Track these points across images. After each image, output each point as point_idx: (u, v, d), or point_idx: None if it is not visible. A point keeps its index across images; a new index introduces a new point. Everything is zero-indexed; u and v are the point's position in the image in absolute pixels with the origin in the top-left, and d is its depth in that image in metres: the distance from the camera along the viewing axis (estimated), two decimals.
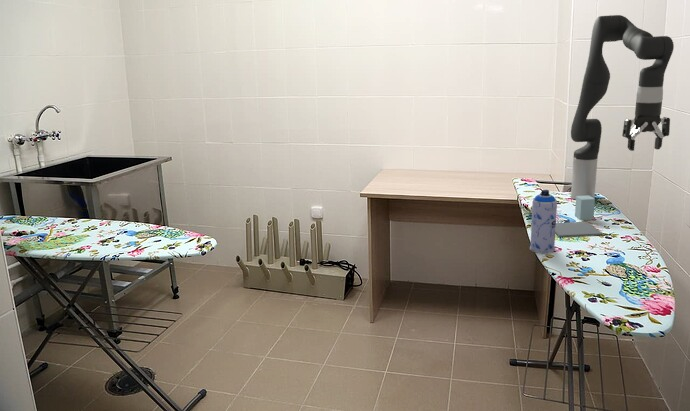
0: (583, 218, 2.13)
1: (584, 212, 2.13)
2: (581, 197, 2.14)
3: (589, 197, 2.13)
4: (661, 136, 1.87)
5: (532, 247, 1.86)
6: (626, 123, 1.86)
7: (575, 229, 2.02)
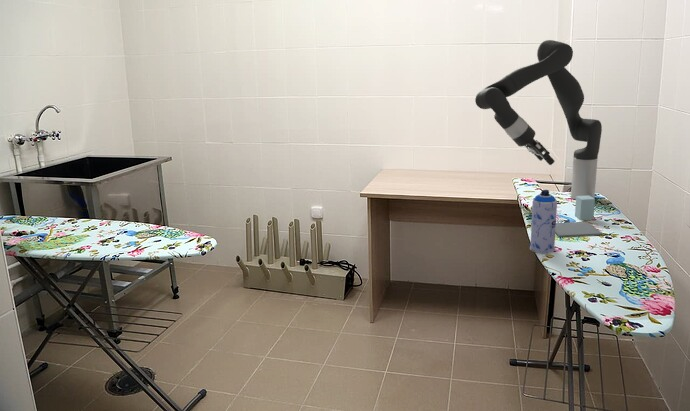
0: (583, 218, 2.13)
1: (584, 212, 2.13)
2: (581, 197, 2.14)
3: (589, 197, 2.13)
4: (542, 157, 2.03)
5: (532, 247, 1.86)
6: None
7: (575, 229, 2.02)
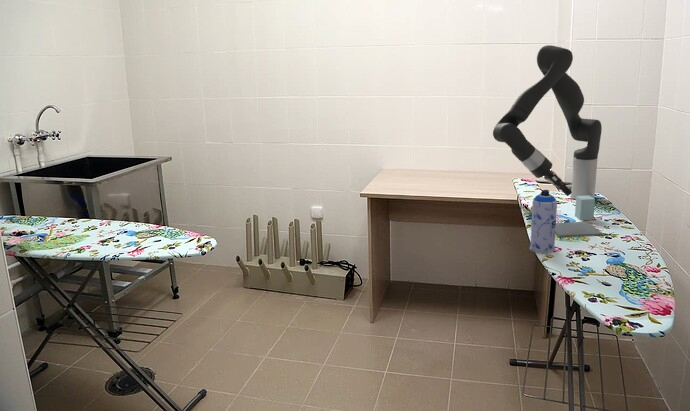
0: (583, 218, 2.13)
1: (584, 212, 2.13)
2: (581, 197, 2.14)
3: (589, 197, 2.13)
4: (559, 188, 2.08)
5: (532, 247, 1.86)
6: None
7: (575, 229, 2.02)
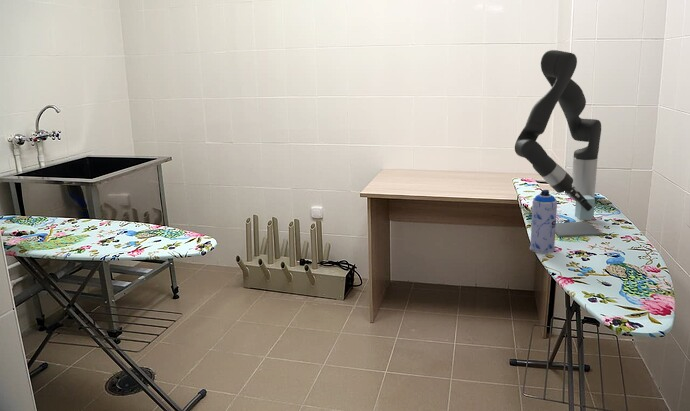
0: (583, 218, 2.13)
1: (584, 212, 2.13)
2: None
3: (589, 197, 2.13)
4: (580, 204, 2.11)
5: (532, 247, 1.86)
6: None
7: (575, 229, 2.02)
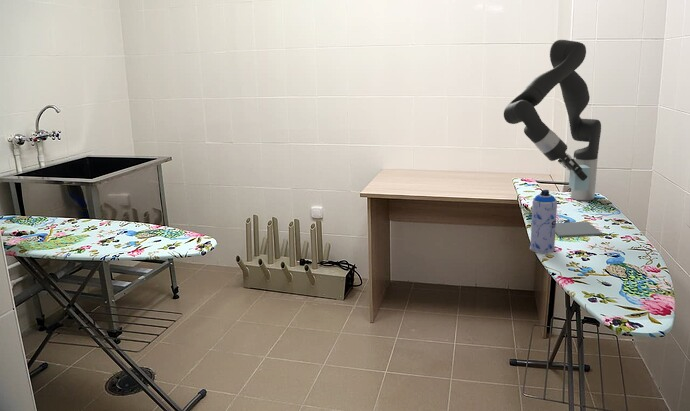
0: (577, 188, 2.00)
1: (578, 182, 1.99)
2: None
3: (584, 166, 2.00)
4: (574, 173, 1.98)
5: (532, 247, 1.86)
6: None
7: (575, 229, 2.02)
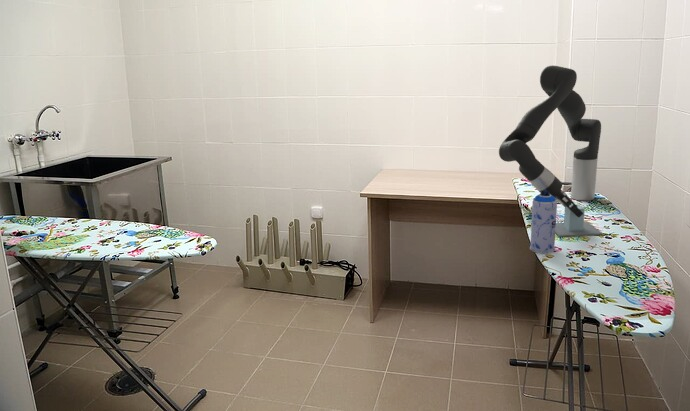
0: (572, 229, 2.01)
1: (573, 222, 2.00)
2: (570, 206, 2.01)
3: (578, 206, 2.01)
4: (570, 210, 1.97)
5: (532, 247, 1.86)
6: None
7: None
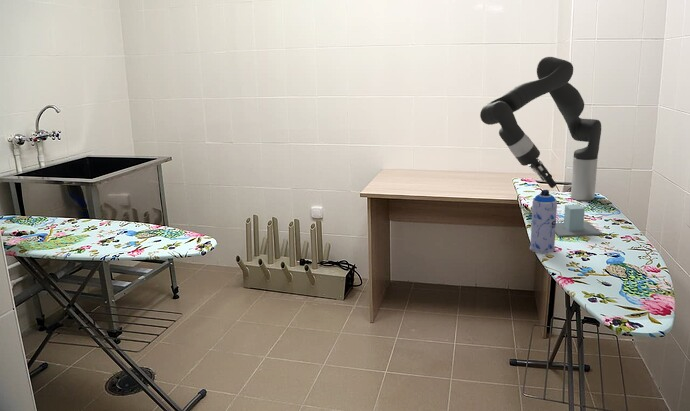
0: (572, 229, 2.01)
1: (573, 222, 2.00)
2: (570, 206, 2.01)
3: (578, 206, 2.01)
4: (544, 179, 1.95)
5: (532, 247, 1.86)
6: None
7: None
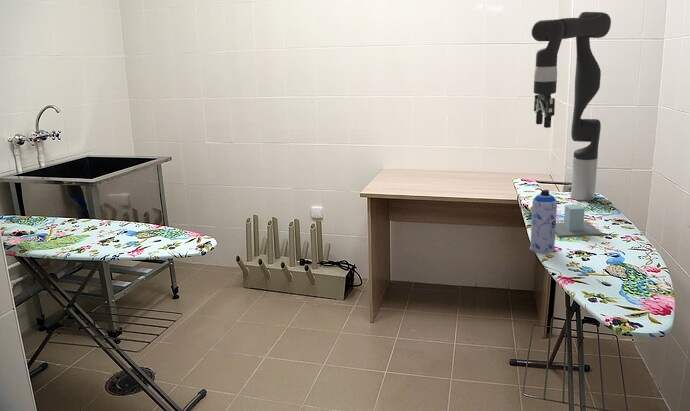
0: (572, 229, 2.01)
1: (573, 222, 2.00)
2: (570, 206, 2.01)
3: (578, 206, 2.01)
4: (544, 115, 1.98)
5: (532, 247, 1.86)
6: None
7: None
